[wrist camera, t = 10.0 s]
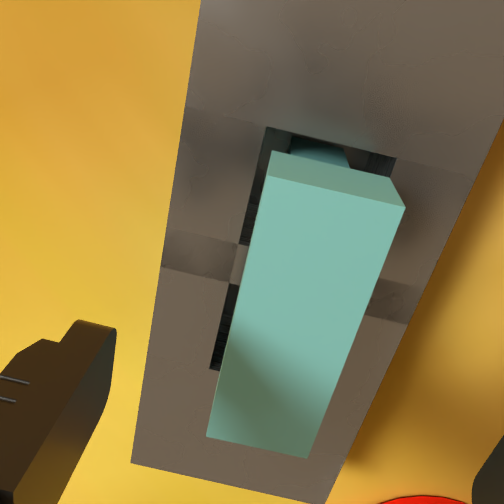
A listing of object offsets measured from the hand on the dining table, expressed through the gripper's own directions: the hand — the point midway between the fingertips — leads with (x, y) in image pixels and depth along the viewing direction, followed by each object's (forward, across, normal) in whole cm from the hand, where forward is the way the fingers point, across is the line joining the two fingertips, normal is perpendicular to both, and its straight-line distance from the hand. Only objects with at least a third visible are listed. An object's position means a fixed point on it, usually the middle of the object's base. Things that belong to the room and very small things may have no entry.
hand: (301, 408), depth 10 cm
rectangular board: (+10, 0, 0) cm, 10 cm away
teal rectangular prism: (+9, 0, 0) cm, 9 cm away
